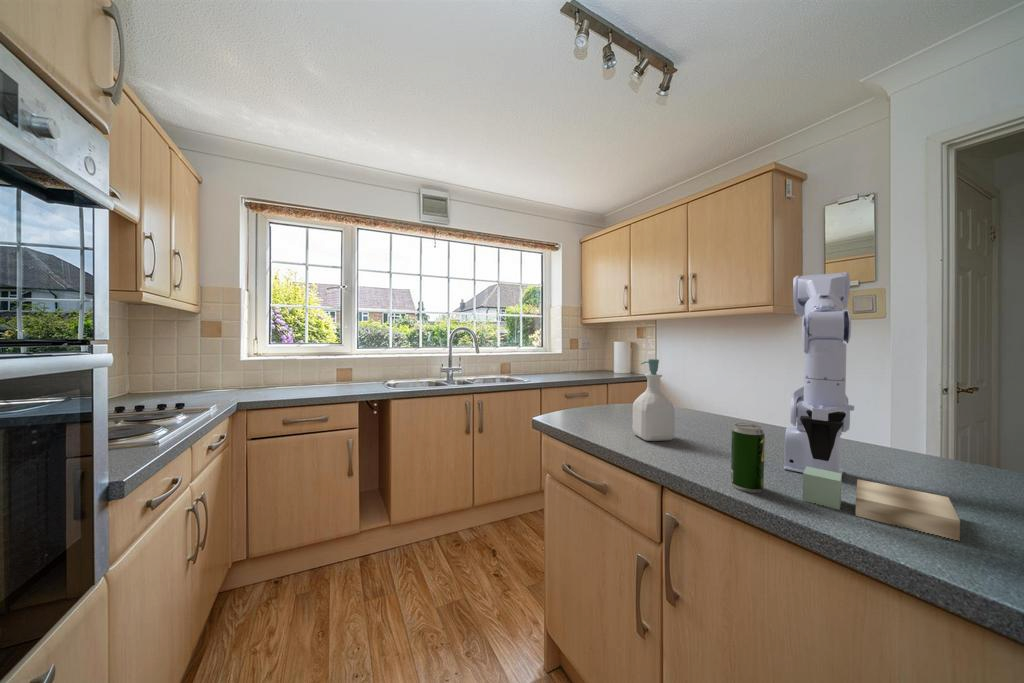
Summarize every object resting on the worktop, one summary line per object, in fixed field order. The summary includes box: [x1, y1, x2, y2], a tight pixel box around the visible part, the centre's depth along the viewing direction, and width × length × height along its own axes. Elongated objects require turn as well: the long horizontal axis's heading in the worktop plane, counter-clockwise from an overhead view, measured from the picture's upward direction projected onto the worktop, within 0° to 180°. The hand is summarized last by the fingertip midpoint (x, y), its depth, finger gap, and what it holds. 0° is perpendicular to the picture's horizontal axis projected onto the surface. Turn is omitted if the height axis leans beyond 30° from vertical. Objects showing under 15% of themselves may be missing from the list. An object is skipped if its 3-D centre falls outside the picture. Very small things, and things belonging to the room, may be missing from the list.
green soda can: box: [730, 422, 766, 494], centre depth 72 cm, size 5×5×12 cm
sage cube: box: [802, 466, 843, 511], centre depth 67 cm, size 5×5×5 cm
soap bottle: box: [632, 358, 676, 442], centre depth 107 cm, size 10×10×23 cm
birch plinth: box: [855, 478, 961, 542], centre depth 61 cm, size 11×11×3 cm
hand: (822, 454), depth 67 cm, fingers open, 7 cm apart
